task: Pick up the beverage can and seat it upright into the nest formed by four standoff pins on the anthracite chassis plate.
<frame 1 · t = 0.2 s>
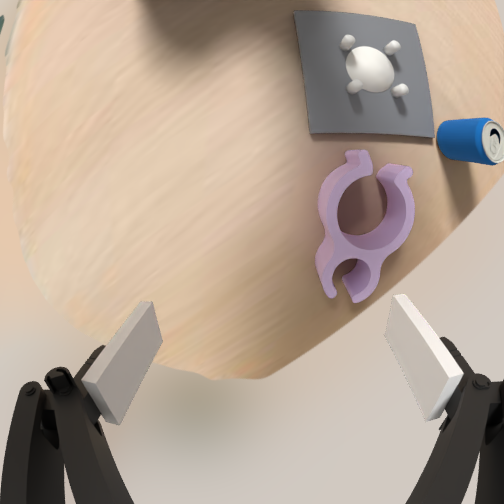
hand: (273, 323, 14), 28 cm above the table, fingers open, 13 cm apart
clip: (352, 219, 41), on the table
beverage can: (448, 139, 34), on the table
chassis: (368, 70, 32), on the table
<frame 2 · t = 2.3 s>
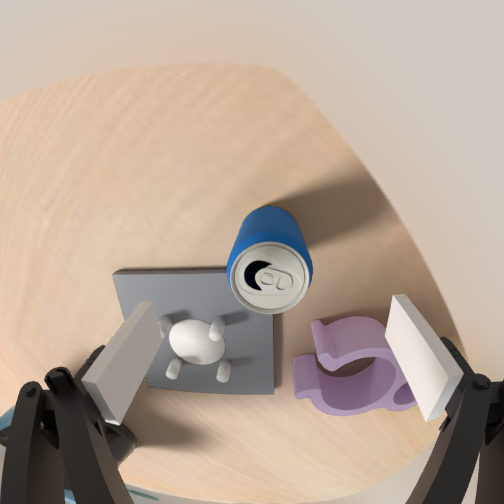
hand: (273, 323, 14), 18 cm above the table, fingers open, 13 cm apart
clip: (363, 354, 37), on the table
beverage can: (269, 233, 31), on the table
chassis: (198, 337, 36), on the table
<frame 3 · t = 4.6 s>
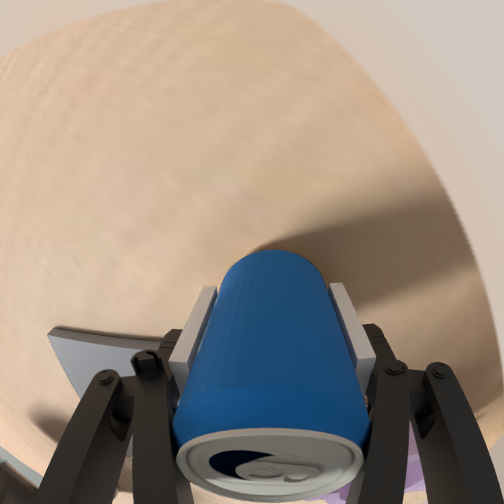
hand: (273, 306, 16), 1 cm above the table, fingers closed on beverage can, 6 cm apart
clip: (394, 430, 23), on the table
beverage can: (273, 292, 18), on the table, touching gripper
chassis: (171, 418, 23), on the table
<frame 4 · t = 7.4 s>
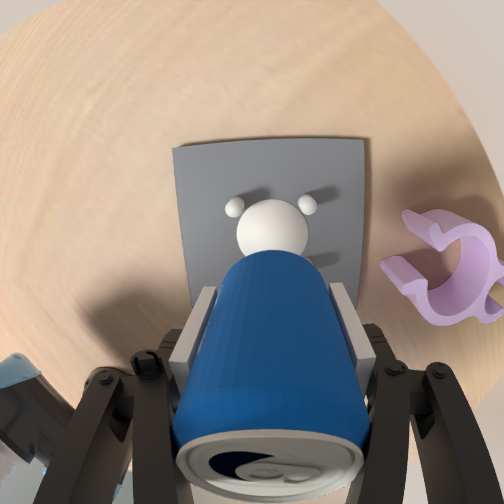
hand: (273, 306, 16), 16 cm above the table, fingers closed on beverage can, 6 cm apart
clip: (445, 261, 31), on the table
beverage can: (273, 293, 18), point 14 cm above the table, touching gripper
chassis: (272, 231, 31), on the table
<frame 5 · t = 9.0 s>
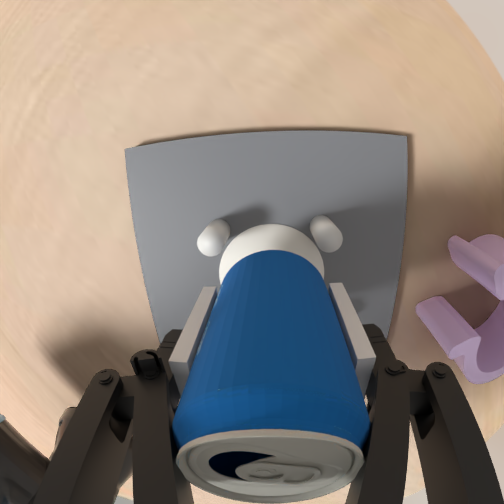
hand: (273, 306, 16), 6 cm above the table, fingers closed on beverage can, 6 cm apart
clip: (488, 297, 22), on the table
beverage can: (273, 293, 18), point 4 cm above the table, touching gripper
chassis: (271, 268, 21), on the table
when the fingers open (4 cm above the table, at t = 10.2 s): beverage can drops 1 cm, resting on chassis.
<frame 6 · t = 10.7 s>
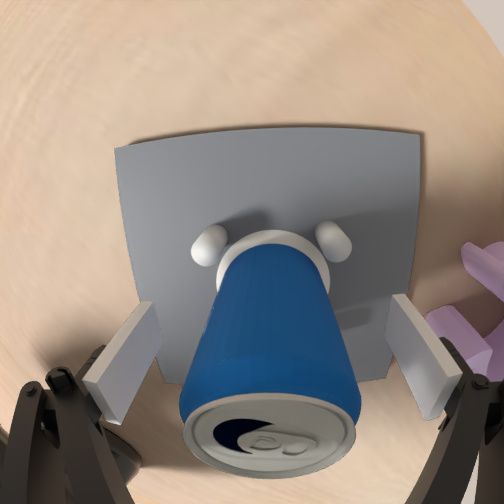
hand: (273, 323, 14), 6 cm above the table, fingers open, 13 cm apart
clip: (497, 306, 20), on the table
beverage can: (272, 284, 19), point 1 cm above the table, touching chassis
chassis: (273, 277, 20), on the table
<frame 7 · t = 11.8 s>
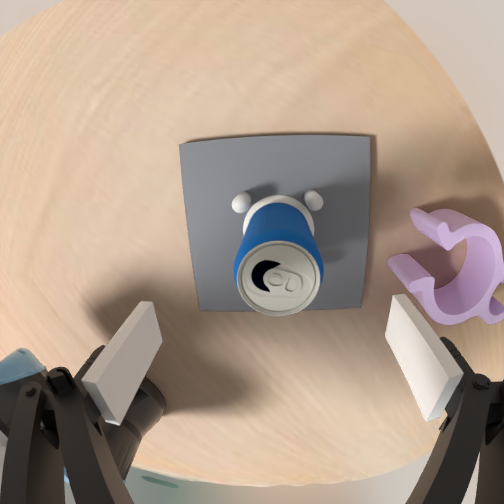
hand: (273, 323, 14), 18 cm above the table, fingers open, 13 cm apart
clip: (451, 261, 31), on the table
beverage can: (278, 230, 30), point 1 cm above the table, touching chassis
chassis: (278, 227, 31), on the table
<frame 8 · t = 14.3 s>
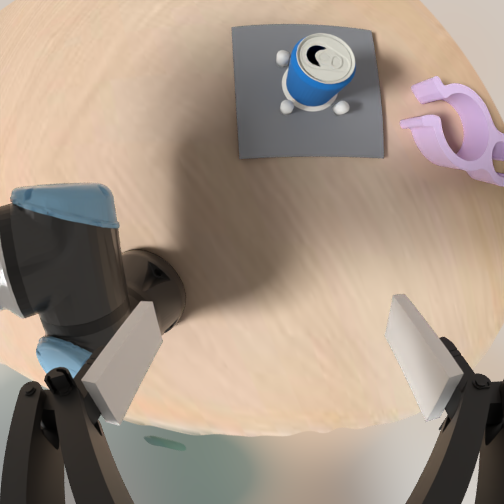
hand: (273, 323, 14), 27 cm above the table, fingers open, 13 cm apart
clip: (452, 136, 33), on the table
beverage can: (309, 85, 32), point 1 cm above the table, touching chassis
chassis: (309, 87, 33), on the table
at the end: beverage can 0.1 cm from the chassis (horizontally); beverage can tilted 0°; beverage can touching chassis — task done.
